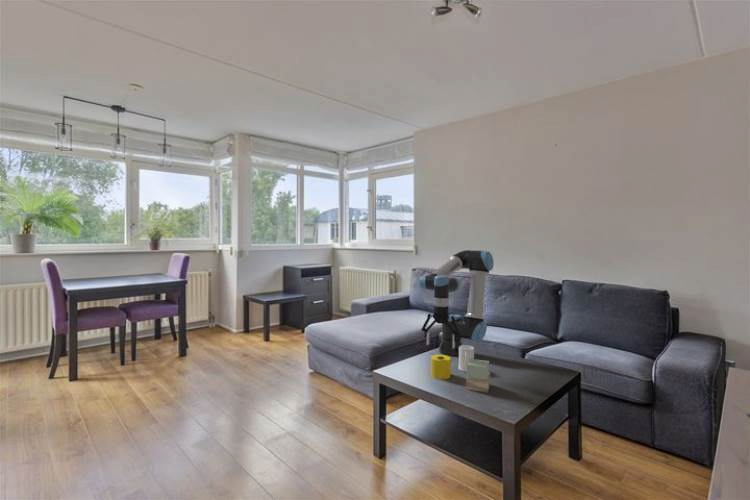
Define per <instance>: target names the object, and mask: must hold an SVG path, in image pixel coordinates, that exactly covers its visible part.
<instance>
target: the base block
mask: <svg viewBox="0 0 750 500" xmlns="http://www.w3.org/2000/svg"><path fill="white" fill-rule="evenodd" d="M490 385H491V372H489V375H488V377H487V380H484V379H477V378H471V377H467V375H466V377H465V390H468V391H469V390H470V391H476V392H480V393H481V392H482V393H487V394H488V393H489V389H490Z"/></svg>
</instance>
